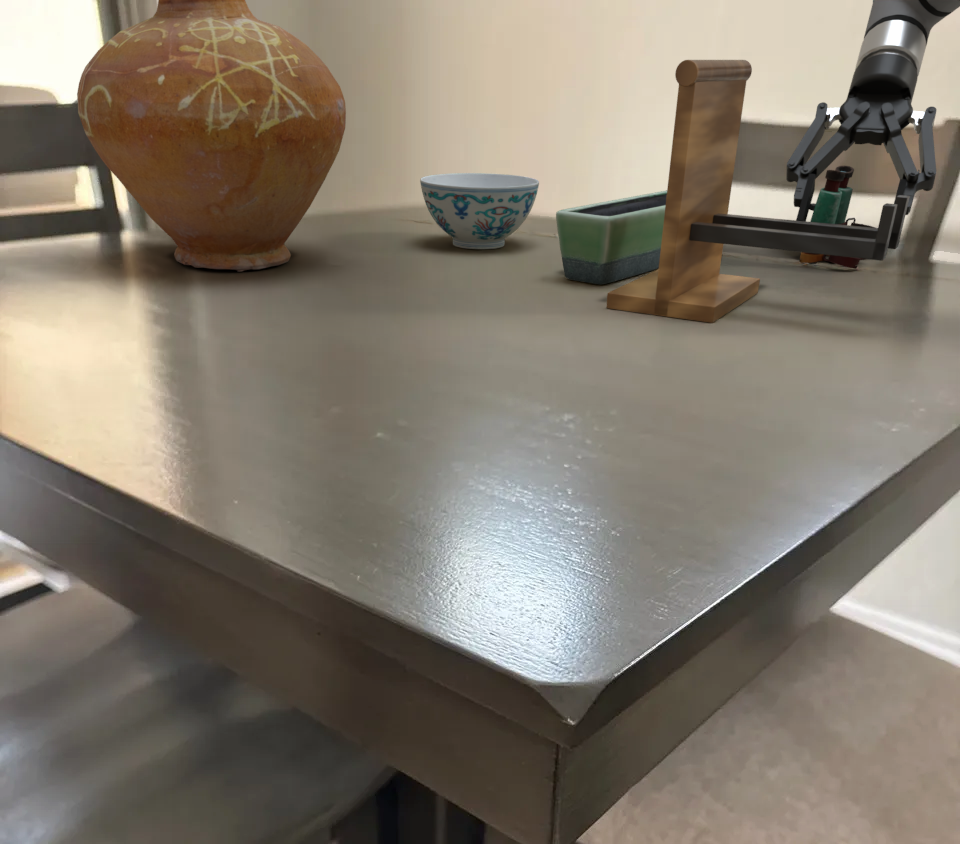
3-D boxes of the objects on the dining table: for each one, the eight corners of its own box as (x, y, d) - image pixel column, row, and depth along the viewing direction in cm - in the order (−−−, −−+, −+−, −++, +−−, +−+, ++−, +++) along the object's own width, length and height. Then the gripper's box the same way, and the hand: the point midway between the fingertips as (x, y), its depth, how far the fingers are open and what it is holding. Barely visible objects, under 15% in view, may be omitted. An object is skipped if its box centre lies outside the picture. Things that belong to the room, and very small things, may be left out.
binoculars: (898, 183, 109) (811, 167, 112) (868, 280, 115) (786, 262, 118) (913, 176, 115) (830, 161, 119) (883, 268, 121) (805, 251, 125)
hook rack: (889, 308, 100) (945, 65, 88) (857, 344, 87) (918, 65, 76) (662, 280, 110) (687, 58, 98) (604, 309, 97) (625, 58, 86)
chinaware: (538, 256, 120) (542, 188, 116) (417, 254, 120) (416, 185, 116) (533, 236, 133) (536, 174, 129) (424, 234, 133) (423, 172, 129)
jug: (108, 294, 98) (45, -72, 82) (102, 246, 121) (51, -49, 105) (379, 280, 106) (367, -56, 91) (325, 237, 129) (309, -37, 113)
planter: (667, 248, 127) (674, 188, 123) (717, 255, 123) (726, 193, 119) (548, 280, 108) (552, 210, 104) (604, 290, 105) (610, 217, 101)
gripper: (978, 102, 119) (939, 259, 115) (792, 96, 126) (749, 243, 122) (991, 51, 112) (950, 217, 108) (793, 47, 119) (748, 202, 115)
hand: (843, 231), depth 115 cm, fingers closed on binoculars, 10 cm apart
